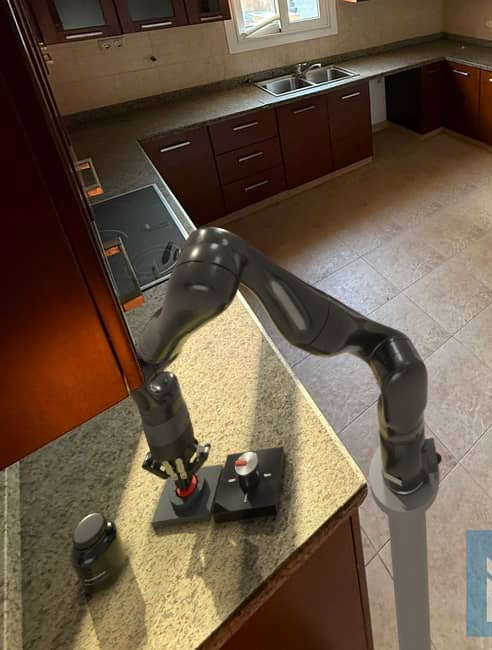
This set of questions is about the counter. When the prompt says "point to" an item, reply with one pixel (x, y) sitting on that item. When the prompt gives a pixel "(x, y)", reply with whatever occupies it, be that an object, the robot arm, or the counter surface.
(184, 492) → the power button
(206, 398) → the counter surface
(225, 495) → the stove panel
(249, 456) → the stove knob
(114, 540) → the supplement bottle
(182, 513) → the button housing
